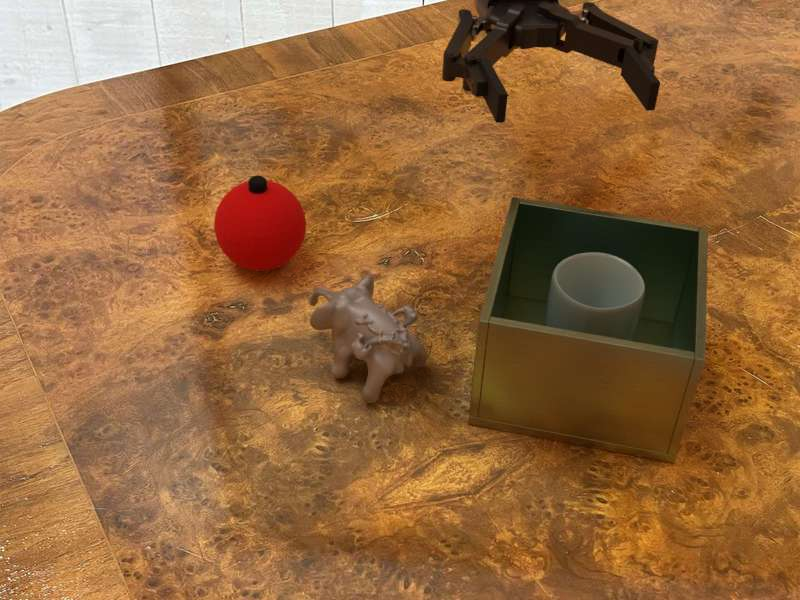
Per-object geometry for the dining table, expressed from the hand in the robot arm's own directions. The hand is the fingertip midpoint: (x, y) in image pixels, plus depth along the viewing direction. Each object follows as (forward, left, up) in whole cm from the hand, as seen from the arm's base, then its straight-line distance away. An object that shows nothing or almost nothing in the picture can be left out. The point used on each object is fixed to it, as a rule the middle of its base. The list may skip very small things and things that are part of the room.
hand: (578, 102), depth 91 cm
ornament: (+29, +2, -22) cm, 36 cm away
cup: (-4, +10, -21) cm, 24 cm away
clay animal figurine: (+16, +14, -22) cm, 31 cm away
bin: (-4, +10, -22) cm, 24 cm away
